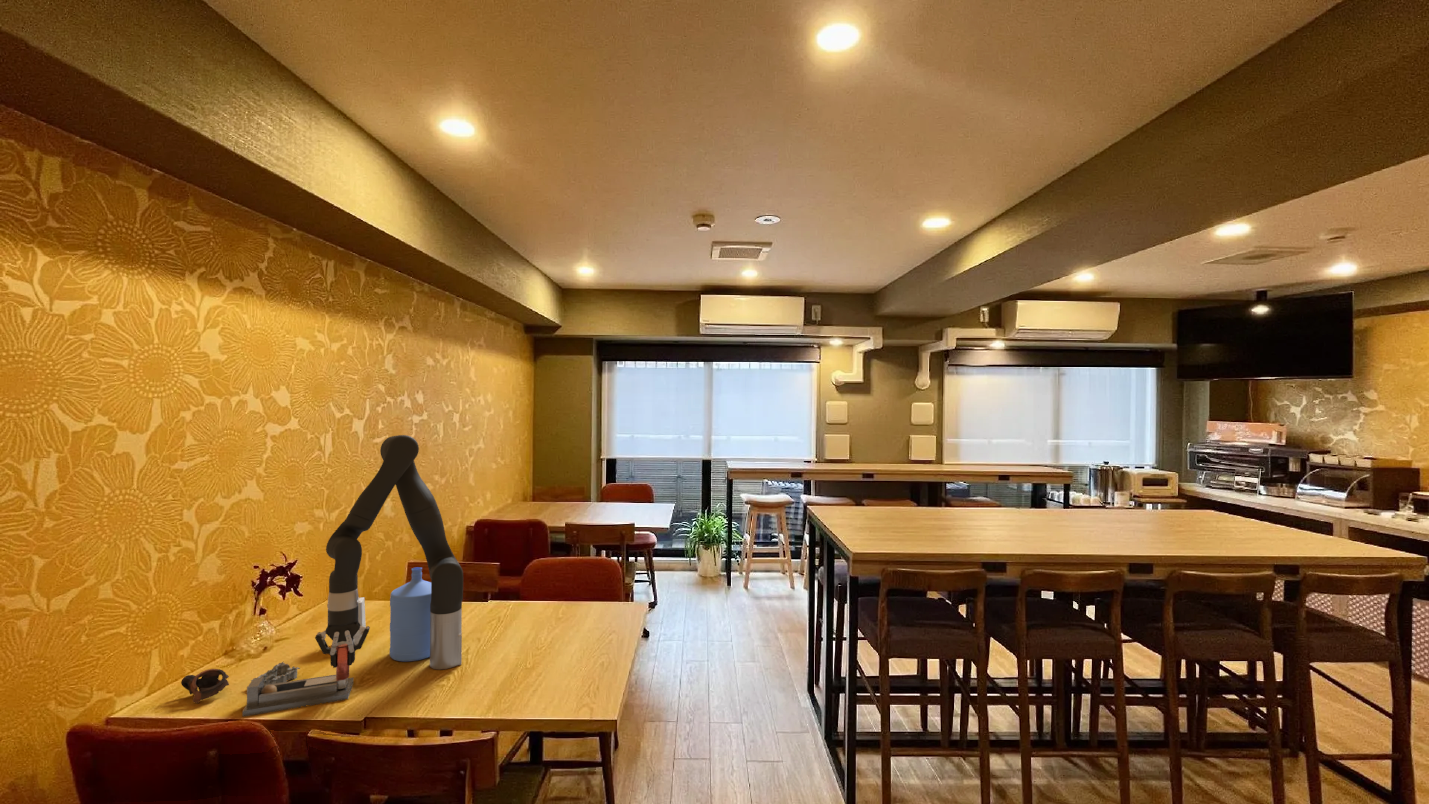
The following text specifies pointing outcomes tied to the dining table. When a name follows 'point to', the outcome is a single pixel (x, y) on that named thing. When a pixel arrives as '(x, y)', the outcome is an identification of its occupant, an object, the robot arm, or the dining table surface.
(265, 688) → the walnut
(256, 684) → the grey ball track
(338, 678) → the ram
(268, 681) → the grey jagged model
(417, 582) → the water jug
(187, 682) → the dark brown hollow piece
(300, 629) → the dining table surface
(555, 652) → the dining table surface
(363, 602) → the skincare box
